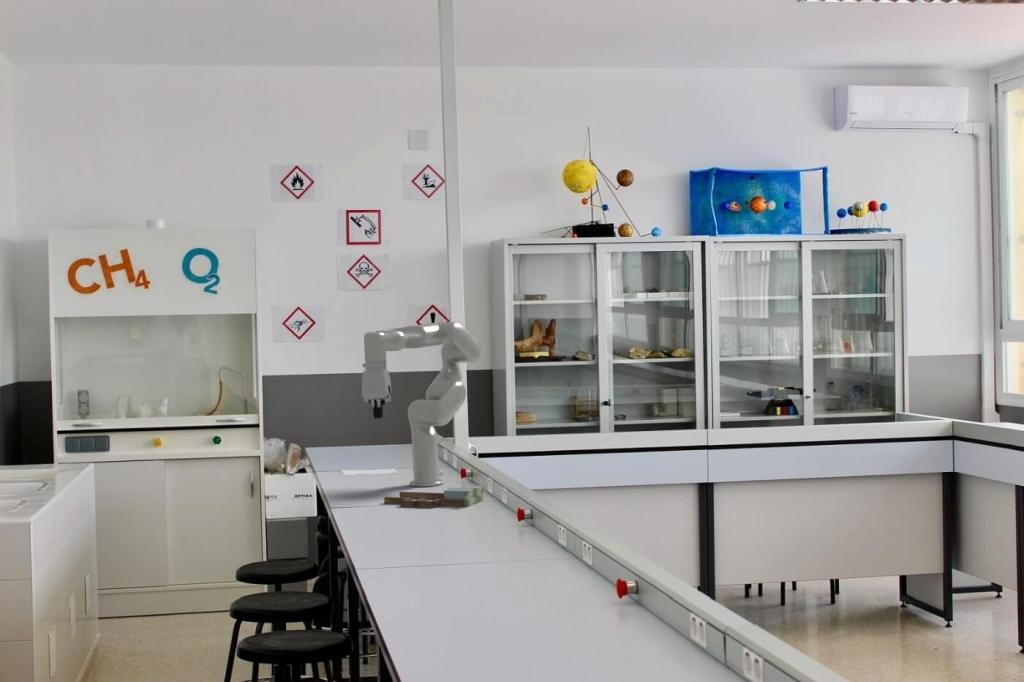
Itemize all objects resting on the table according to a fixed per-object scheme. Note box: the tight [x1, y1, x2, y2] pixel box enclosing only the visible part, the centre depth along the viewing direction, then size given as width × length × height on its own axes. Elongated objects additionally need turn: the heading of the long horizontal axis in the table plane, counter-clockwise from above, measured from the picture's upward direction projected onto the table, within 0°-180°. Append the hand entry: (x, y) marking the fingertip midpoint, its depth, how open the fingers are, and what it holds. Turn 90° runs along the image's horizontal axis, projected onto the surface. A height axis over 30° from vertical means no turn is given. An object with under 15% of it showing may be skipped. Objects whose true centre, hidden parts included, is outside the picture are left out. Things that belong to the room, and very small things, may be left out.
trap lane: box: [383, 485, 485, 509], centre depth 370 cm, size 16×32×5 cm, turn 66°
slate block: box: [443, 487, 472, 500], centre depth 367 cm, size 6×8×5 cm
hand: (378, 418), depth 392 cm, fingers closed
